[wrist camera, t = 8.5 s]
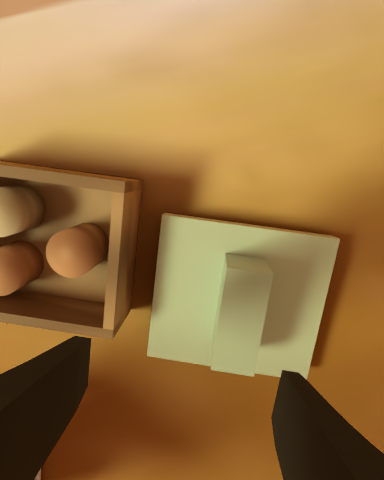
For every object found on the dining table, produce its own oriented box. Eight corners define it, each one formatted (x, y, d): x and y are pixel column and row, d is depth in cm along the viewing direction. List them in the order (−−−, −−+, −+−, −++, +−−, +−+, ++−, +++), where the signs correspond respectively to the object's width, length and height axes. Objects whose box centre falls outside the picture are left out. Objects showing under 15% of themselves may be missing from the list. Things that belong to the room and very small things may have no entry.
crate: (130, 309, 22) (112, 339, 18) (-7, 288, 22) (-54, 313, 18) (142, 180, 20) (125, 181, 16) (-9, 159, 20) (-62, 156, 16)
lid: (299, 364, 22) (321, 416, 17) (152, 341, 23) (135, 386, 18) (329, 233, 20) (363, 251, 15) (166, 211, 20) (151, 222, 16)
